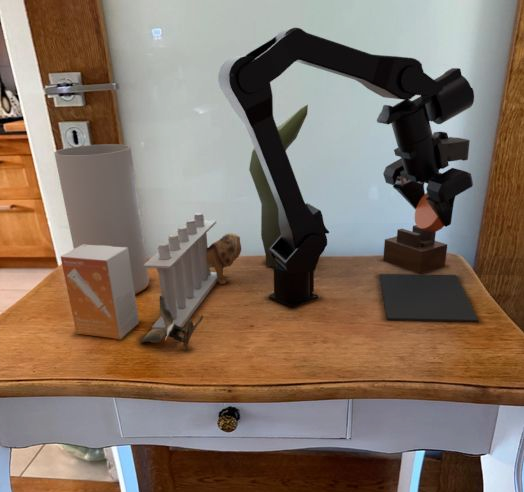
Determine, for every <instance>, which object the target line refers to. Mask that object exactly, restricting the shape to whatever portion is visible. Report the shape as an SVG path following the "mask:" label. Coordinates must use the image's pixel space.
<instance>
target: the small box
mask: <svg viewBox="0 0 524 492" xmlns="http://www.w3.org/2000/svg"><path fill="white" fill-rule="evenodd" d="M60 261H61V262H60V263H61V266H62V270H63V276H64V281H65V283H66V284H65V285H66V290H67V294H68V300H69V304H70V309H71V314H72V319H73V324H74V327H75V328H74V329H75V333H76V335H85V336H86V335H87V336H92V337H93V336H94V337H101V338H102V337H103V338H108V339H115V340H121V339H123V338H124V337H125V336H126V335H127V334H128V333H130V332H131V331H132V330H134V328H135V327H137V326H138V325H139V324H140V319H139V312H138V304H137V299H136V298H137V297H136V294H135V291H134V285H133V278H132V272H131V265H130V259H129V252H128V248H127V247H113V246H104V245H99V246H98V245H85V244H84V245H81V246H79V247H77V248H75V249H74V248H73V249H71V250H69V251H68V252H66V253H64V254H62V255H61V256H60Z"/></svg>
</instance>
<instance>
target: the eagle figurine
mask: <svg viewBox="0 0 524 492" xmlns="http://www.w3.org/2000/svg"><path fill="white" fill-rule="evenodd" d="M159 314H160V317H161V316H162V318H163V320H164V321H165V323H166V326H165V327H164V328H160V329H153V330H152V329H151V330H150V331H149V332H147V334H146V335H144V336H142V339H141V340H140V343H146V342H151V343H153V344H154V343H159V342H160V341H162V340H163V339H164V338H165V339H164V341H165V342H166V341H167V340H168V338H169V337H170V338H173V340H175V341H178V342H180V343H183V345H182V346H183V348H184V350H185V351H188V350H189V349H188V346H189V342H190V340H191V337H192V335H193V333H194V331H195V330H196V329H197V327H198V326H199V325H200V323H201V322H202V320H203V318H204V315H203V314H201V315H200V317H199V318H198V319H197V320H196V321H195V323H194V322H193V321H192V320H191V318H189V319H188V321H187V322H186V327H180V326H177V325H176V324H174V322H173V317H172V315H171V313H170V311H169V310H168V309H166V307H165V304H164V298H163V297H162V295H160V296H159ZM182 335H183V336H182Z"/></svg>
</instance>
